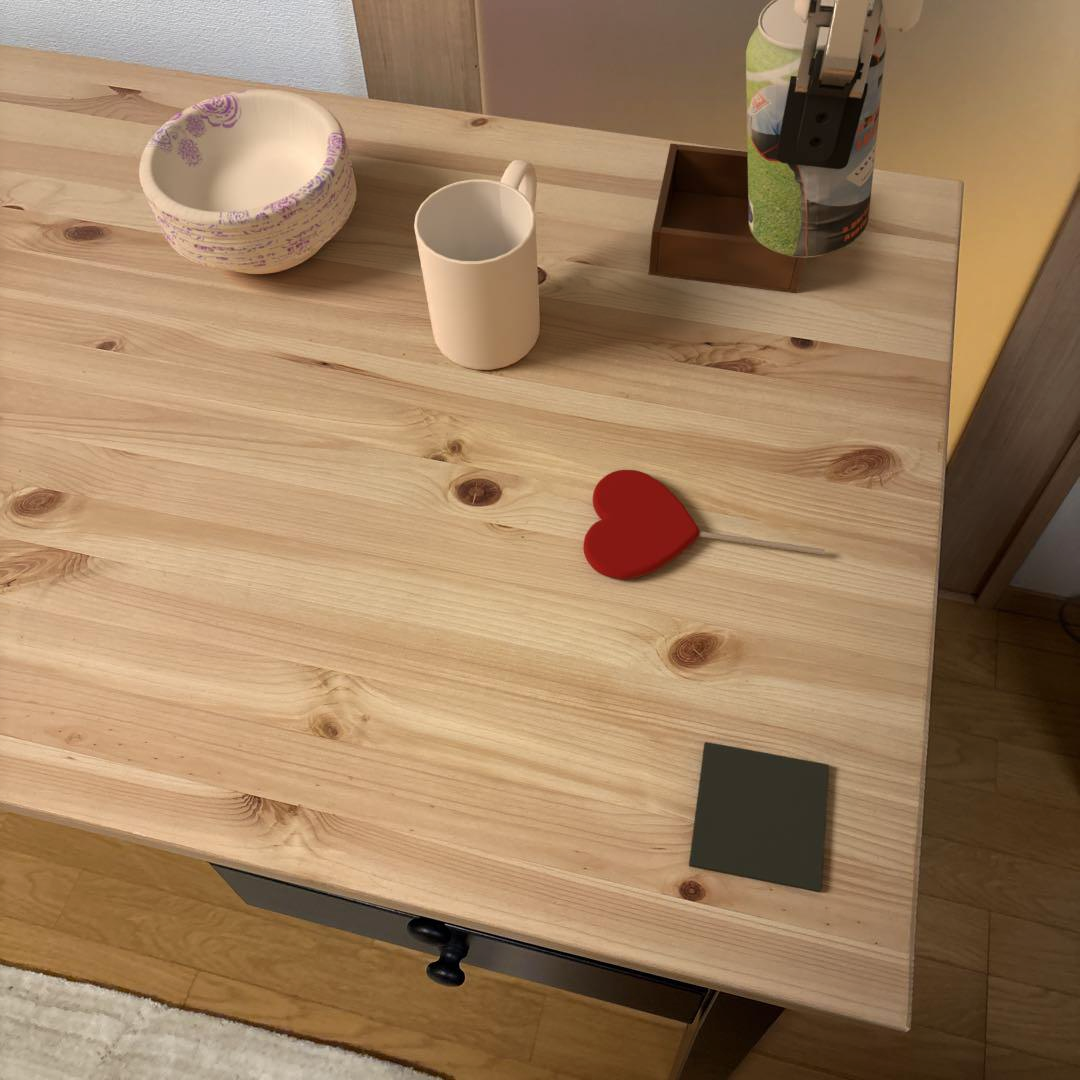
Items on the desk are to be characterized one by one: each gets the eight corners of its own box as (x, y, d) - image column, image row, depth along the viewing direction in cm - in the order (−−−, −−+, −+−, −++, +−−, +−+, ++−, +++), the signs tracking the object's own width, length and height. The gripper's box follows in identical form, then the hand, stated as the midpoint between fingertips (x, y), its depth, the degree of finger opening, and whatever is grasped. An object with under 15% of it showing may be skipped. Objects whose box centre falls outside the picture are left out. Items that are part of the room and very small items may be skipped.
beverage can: (846, 286, 51) (910, 73, 40) (707, 252, 53) (733, 39, 42) (874, 204, 54) (940, -15, 43) (741, 175, 55) (773, -43, 45)
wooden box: (805, 203, 80) (817, 158, 76) (796, 293, 75) (808, 249, 71) (666, 187, 81) (670, 142, 77) (648, 274, 76) (651, 231, 73)
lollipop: (825, 502, 65) (598, 470, 67) (828, 494, 65) (598, 462, 66) (819, 612, 61) (577, 575, 63) (822, 605, 61) (577, 568, 62)
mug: (512, 385, 71) (503, 277, 62) (414, 352, 73) (392, 243, 64) (579, 271, 77) (580, 156, 68) (487, 243, 79) (475, 127, 70)
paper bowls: (234, 151, 85) (205, 66, 78) (396, 192, 82) (379, 107, 75) (136, 274, 78) (94, 192, 71) (308, 324, 75) (281, 243, 68)
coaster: (827, 766, 57) (829, 764, 56) (819, 892, 53) (821, 891, 53) (704, 743, 58) (704, 741, 57) (688, 866, 54) (689, 864, 54)
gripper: (1062, -252, 27) (889, 253, 42) (1043, -474, 36) (905, 15, 51) (781, -266, 28) (713, 231, 44) (828, -477, 37) (757, 2, 52)
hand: (817, 111), depth 47 cm, fingers closed on beverage can, 6 cm apart
